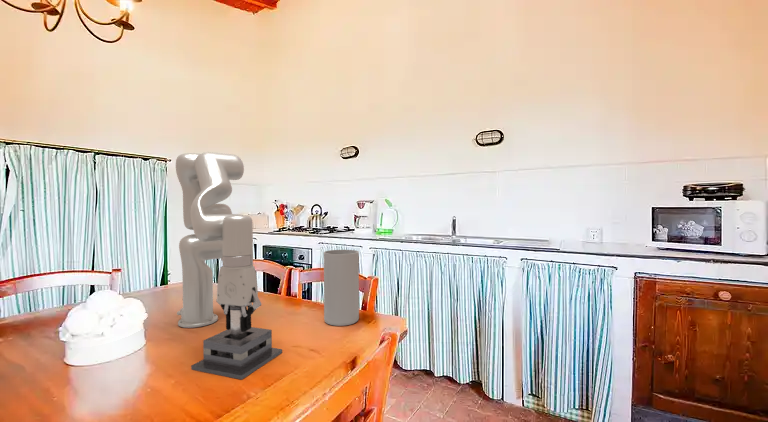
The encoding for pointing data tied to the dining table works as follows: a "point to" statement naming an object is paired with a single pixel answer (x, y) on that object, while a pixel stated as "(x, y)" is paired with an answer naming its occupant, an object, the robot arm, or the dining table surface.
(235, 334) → the tube
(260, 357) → the collar stand
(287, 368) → the dining table surface
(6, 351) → the dining table surface
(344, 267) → the cylinder vase
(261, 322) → the dining table surface
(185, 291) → the robot arm
